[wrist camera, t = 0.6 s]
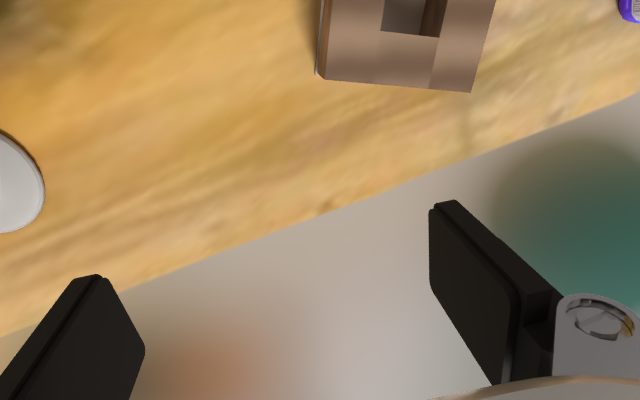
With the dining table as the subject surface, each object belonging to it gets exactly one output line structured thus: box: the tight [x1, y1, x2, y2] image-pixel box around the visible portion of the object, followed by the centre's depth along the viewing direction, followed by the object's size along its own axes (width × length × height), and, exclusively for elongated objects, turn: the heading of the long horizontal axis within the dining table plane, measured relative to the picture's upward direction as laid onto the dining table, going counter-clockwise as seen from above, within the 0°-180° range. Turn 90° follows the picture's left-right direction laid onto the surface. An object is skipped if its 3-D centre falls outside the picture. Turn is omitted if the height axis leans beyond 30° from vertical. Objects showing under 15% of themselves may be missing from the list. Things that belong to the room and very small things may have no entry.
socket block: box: [315, 0, 496, 93], centre depth 32 cm, size 14×14×5 cm
